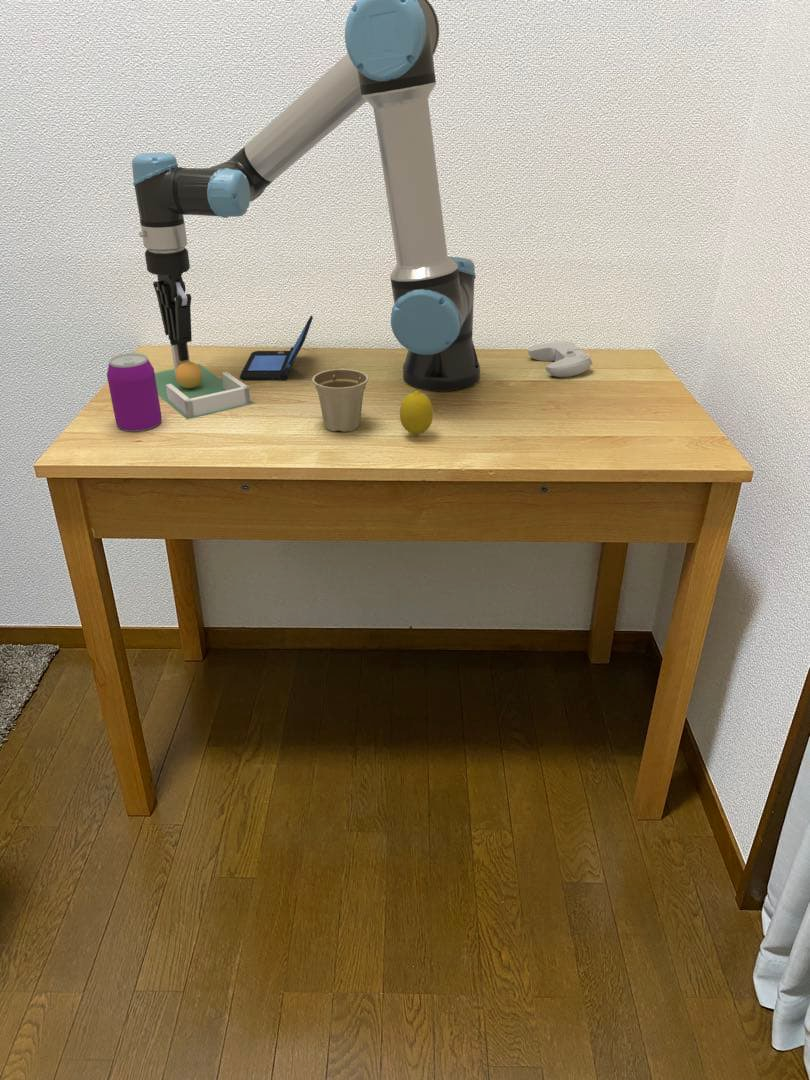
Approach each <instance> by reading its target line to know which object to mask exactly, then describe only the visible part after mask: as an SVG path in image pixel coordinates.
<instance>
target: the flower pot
mask: <svg viewBox="0 0 810 1080" xmlns="http://www.w3.org/2000/svg"><path fill="white" fill-rule="evenodd" d="M311 381H312V384H313V385H315V386H314V387H315V389H316V392H317V395H318V399H319V404H320V405H319V406H320V410H321V411H320V412H321V415H322V420H323V426H324V428H325V429H327V430H328V431H332V432H337V431H341V432H343V433H344V432H351V431H354V430H356V429H358V428H359V427H360V424H361V416H362V410H363V409H362V408H363V400H364V391H365V389H366V387H367V386H366V385H367V383H368V382H369V376H368V374H367V373H364V372H363V371H360V370H356V369H350V368H349V369H347V368H336V369H335V368H334V369H328V370H327V369H326V370H324V371H321V372H318V373H316V374H315V375H313V376H312V379H311Z"/></svg>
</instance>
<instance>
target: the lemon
mask: <svg viewBox="0 0 810 1080" xmlns="http://www.w3.org/2000/svg"><path fill="white" fill-rule="evenodd" d="M399 417H400V418H399V419H400V423H401V426H402V427H403V428H404V429H405V431H406V432H408V433H409V434H412V435H414V437H418V436H419V435H420V434H423V433H425V432H426V431H428V429H429V428H430V427H431V425H432V423H433V420H434V407H433V404H432V402H431V399H430V398H429V397H428V396H427V395H426V394H425V393H422V392H420V391H419V390H414V391H413V392H411V393H409V394H408V395H406V396H405V397H404V398H403V399H402V401H401V404H400V409H399Z"/></svg>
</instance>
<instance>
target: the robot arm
mask: <svg viewBox="0 0 810 1080" xmlns="http://www.w3.org/2000/svg"><path fill="white" fill-rule="evenodd" d="M438 18H439V17H438V15H437V13H436V11H435V8H434V7H433V5H432V4H431V3H430V1H429V0H356V1H355V3H354V4H353V6H352V7H351V9H350V11H349V13H348V16H347V18H346V22H345V25H344V27H345V28H344V43H345V48H346V52H347V53H346V54H344V55H343V56H342V57H341V58H340V59H339V60H338V61H337V62H336V63H335V64H333V65H332V66H331V68H329V69H328V70H327V71H326V72H325V73H324V74H323V75H322V76H321V77H319V78H318V80H315V82H314V83H312V85H311V86H309V87H308V88H307V89H306V90H305V91H304V92H303V93H301V94H300V95H299V96H298V97H297V98H296V99H295V100H294V101H293V102H292V103H290V105H289V106H287V107H286V108H285V109H284V110H283V111H281V113H280V114H278V115H277V116H276V117H275V118H274V119H272V121H271V122H270V123H269V124H268V125H266V126H265V127H263V129H262V130H261V131H259V132H258V133H257V134H256V135H255V136H254V137H253V138H252V139H251V140H250V141H249V142H247V143H246V144H245V146H244V147H242V148H241V149H239V150H238V151H237V152H236V153H235V154H234V155H233V156H231V158H230V159H228V160H227V161H224V162H222V163H219V164H217V165H213V166H210V167H205V168H204V167H201V168H198V167H197V168H195V167H193V168H192V167H182V166H181V167H180V166H179V164H178V162H177V158H176V156H175V155H174V154H172V153H166V152H147V153H141V154H137V155H135V156H134V157H133V158H132V161H131V169H132V178H133V182H132V183H133V184H132V185H133V187H134V192H135V197H136V202H137V203H136V205H137V209H138V215H139V222H140V228H141V231H139V232H138V235H139V237H140V238H142V243H143V247H144V248H145V249H146V250H145V252H144V258H145V264H146V269H147V272H148V273H150V274H152V275H157V281H153V284H152V285H153V288H154V291H155V294H156V299H157V302H158V306H159V312H160V316H161V321H162V326H163V328H164V334H165V336H168V340H169V343H170V346H171V347H170V349H171V355H172V360H173V367H174V368H173V369H175V372H176V369H177V367H178V366H179V365H180V364H181V363H184V362H191V359H190V354H189V352H190V351H189V345H188V344H189V343H191V342H192V341H193V340H192V337H193V335H192V318H191V317H192V315H191V305H192V295H191V294H190V293H187V294H186V284H185V281H184V280H183V276H182V275H183V273H186V272H188V271H189V270H190V267H191V264H190V259H189V257H190V256H189V250H188V249H187V248H186V247H187V245H188V239H187V232H186V231H187V230H186V224H185V223H186V222H185V218H184V216H207V217H220V218H222V219H224V218H225V219H227V218H229V217H230V218H231V217H233V218H237V217H242V216H244V215H245V214H246V213H247V211H248V208H249V206H250V202H253V201H255V200H256V199H258V198H259V197H260V196H261V195H262V194H263V193H264V192H265V190H266V188H267V187H269V186H270V185H271V184H272V183H273V182H274V181H275V180H276V179H278V178H279V177H280V176H281V175H282V174H283V173H285V172H286V171H287V170H288V169H289V168H290V167H292V166H293V165H294V164H295V163H297V161H298V160H300V159H301V158H302V157H303V156H304V155H306V154H307V153H308V152H309V151H310V150H312V149H313V148H314V147H315V146H316V145H318V143H320V142H321V141H322V140H323V139H324V138H326V137H327V136H328V135H330V133H331V132H333V131H334V130H335V129H337V127H339V126H340V125H341V124H342V123H343V122H345V120H347V119H348V118H349V117H350V116H352V115H353V114H354V113H355V112H357V110H358V109H359V108H361V107H362V106H363V105H364V104H366V103H368V104H369V105H371V107H372V109H373V113H374V121H375V126H376V135H377V141H378V147H379V152H380V153H379V154H380V160H381V166H382V172H383V173H382V174H383V180H384V187H385V192H386V193H385V194H386V198H387V205H388V213H389V220H390V225H391V232H392V240H393V245H394V252H395V259H396V265H395V267H394V269H393V270H392V272H391V273H390V275H389V276H390V277H389V279H390V283H391V290H392V291H391V292H392V296H393V297H392V298H393V303H394V304H393V306H392V308H391V313H390V328H391V331H392V333H393V337H395V339H396V340H397V341H398V343H399V344H400V345H401V346H403V347H404V348H405V349H407V354H406V358H405V361H404V363H403V366H402V379H403V381H404V383H406V384H408V385H410V386H411V387H413V388H417V389H422V390H426V391H434V392H436V391H437V392H438V391H439V392H449V391H450V392H451V391H457V390H458V391H459V390H464V389H467V388H469V387H472V386H474V385H476V384H478V383H479V382H480V379H481V366H480V363H479V359H478V356H477V352H476V347H475V345H474V341H473V331H474V329H473V327H474V305H475V304H474V303H475V301H474V299H475V279H476V278H477V277H476V275H477V274H476V271H475V268H476V267H475V263H474V261H473V260H472V259H469V258H466V257H459V256H449V255H448V250H447V249H448V247H447V241H446V234H445V233H446V232H445V224H444V217H443V210H442V209H443V207H442V201H441V192H440V186H439V185H440V184H439V179H438V169H437V161H436V153H435V145H434V137H433V128H432V120H431V113H430V112H431V111H430V105H429V97H430V95H431V93H432V92H433V90H434V88H435V87H436V86H437V80H436V73H435V63H434V55H435V53H436V50H437V48H438V45H439V39H440V23H439V19H438Z"/></svg>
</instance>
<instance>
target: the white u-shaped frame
mask: <svg viewBox="0 0 810 1080" xmlns="http://www.w3.org/2000/svg"><path fill="white" fill-rule="evenodd" d="M221 378H222V379H221V380H222V381H223V388H224V389H226V391H222V392H218V393H213V394H209V395H204V396H200V397H195V398H191V399H189V398H188V397H187V396H186V395H184V394H183V393H182V392H181V391H179V390H178V389H177V388H176V387H174V386H173V385H172V384H167V385H166V390H167V397H168V401H170V402H171V403H172V404H173V405H174V406H175V407H177V408H178V409H179V410H180V411H181V412H183V413H184V414H185V415H186V416H187V417H189V418H190V417H194V416H198V415H203V414H207V413H211V412H215V411H219V410H224V409H228V408H232V407H236V406H241V405H245V404H249V403H251V401H252V399H251V390H250V387H249V386H248V385H246V384H245V383H244V382H242V380H240V379H237V378H236V377H235V376H233V375H232V374H230V373H229V372H228V371H223V372H221Z"/></svg>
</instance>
